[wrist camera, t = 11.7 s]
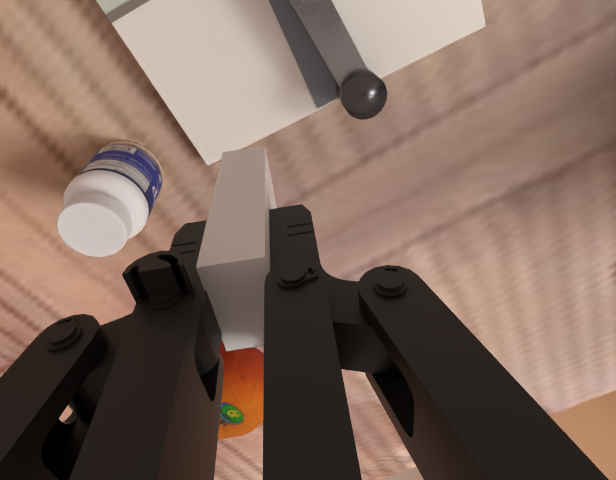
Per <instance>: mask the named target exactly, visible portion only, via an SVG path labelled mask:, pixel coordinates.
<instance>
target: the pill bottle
mask: <svg viewBox="0 0 616 480" xmlns="http://www.w3.org/2000/svg"><path fill="white" fill-rule="evenodd" d="M162 184H163V172H162V168H161V165H160V163H159V162H158V160H157V159H156V157H155V156H154V155H153V154H152V153H151V152H150V151H148V150H147V149H146V148H144V147H142V146H140V145H138V144H136V143H132V142H127V141H116V142H112V143H109V144H107V145H105V146H103V147H102V148H100V149H99V150H98V151H97V153H96V154H95V155H94V156H93V158H92V159H91V160H90V161H89V162H88V163H87V165H86V166H85V167H84V168H83V169H82V170H81V171H80V172H79V174H78V175H77V176H76V177H75V178H74V179H73V180H72V181H71V182H70V184H69V185H68V186H67V188H66V190H65V192H64V196H63V209H62V211H61V212H60V214H59V216H58V219H57V229H58V232H59V235H60V237H61V238H62V239H63V241H64V242H65V243H66V244H67V245H68V246H69V247H71V248H72V249H74V250H75V251H77V252H79V253H82V254H84V255H88V256H93V257H105V256H109V255H112V254H115V253H116V252H118V251H119V250H120V249H122V247H123V246H124V245H125V243H126V241H127V240H128V239H130V238H132V237H134V236H135V235H137V234H138V233H139V232H140V231H141V230H142V229H143V227H144V226H145V224H146V222H147V220H148V217H149V215H150V213H151V210H152V208H153V206H154V203H155V201H156V199H157V196H158V194H159V192H160V189H161V187H162Z"/></svg>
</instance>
